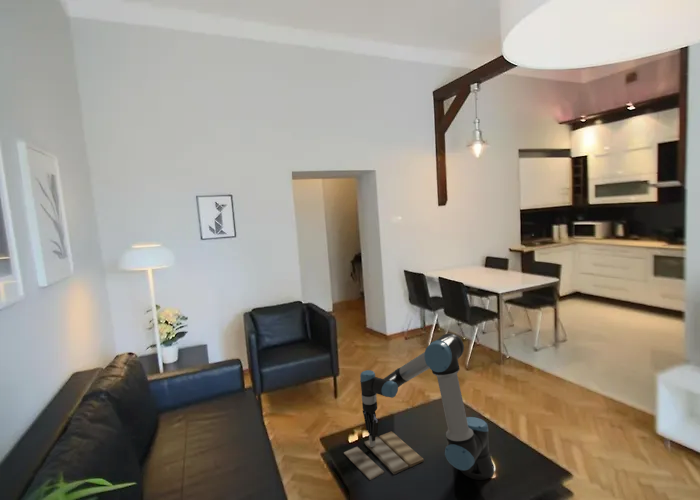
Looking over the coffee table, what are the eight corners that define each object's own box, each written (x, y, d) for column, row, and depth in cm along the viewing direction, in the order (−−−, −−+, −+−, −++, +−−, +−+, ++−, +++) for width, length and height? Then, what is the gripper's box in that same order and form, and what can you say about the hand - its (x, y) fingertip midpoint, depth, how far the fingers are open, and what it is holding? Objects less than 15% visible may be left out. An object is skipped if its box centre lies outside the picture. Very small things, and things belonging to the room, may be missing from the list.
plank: (384, 474, 173) (384, 471, 173) (370, 481, 169) (369, 478, 169) (357, 448, 194) (357, 446, 194) (343, 454, 190) (343, 452, 190)
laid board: (423, 461, 179) (423, 458, 179) (410, 467, 176) (409, 464, 176) (391, 433, 204) (391, 431, 204) (379, 438, 201) (379, 435, 201)
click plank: (408, 468, 175) (408, 465, 175) (394, 474, 172) (393, 471, 172) (377, 438, 200) (377, 436, 200) (364, 443, 197) (364, 441, 197)
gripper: (382, 404, 185) (385, 449, 187) (369, 394, 197) (372, 437, 199) (369, 409, 182) (372, 454, 184) (357, 398, 194) (360, 441, 196)
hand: (372, 445), depth 192 cm, fingers closed
